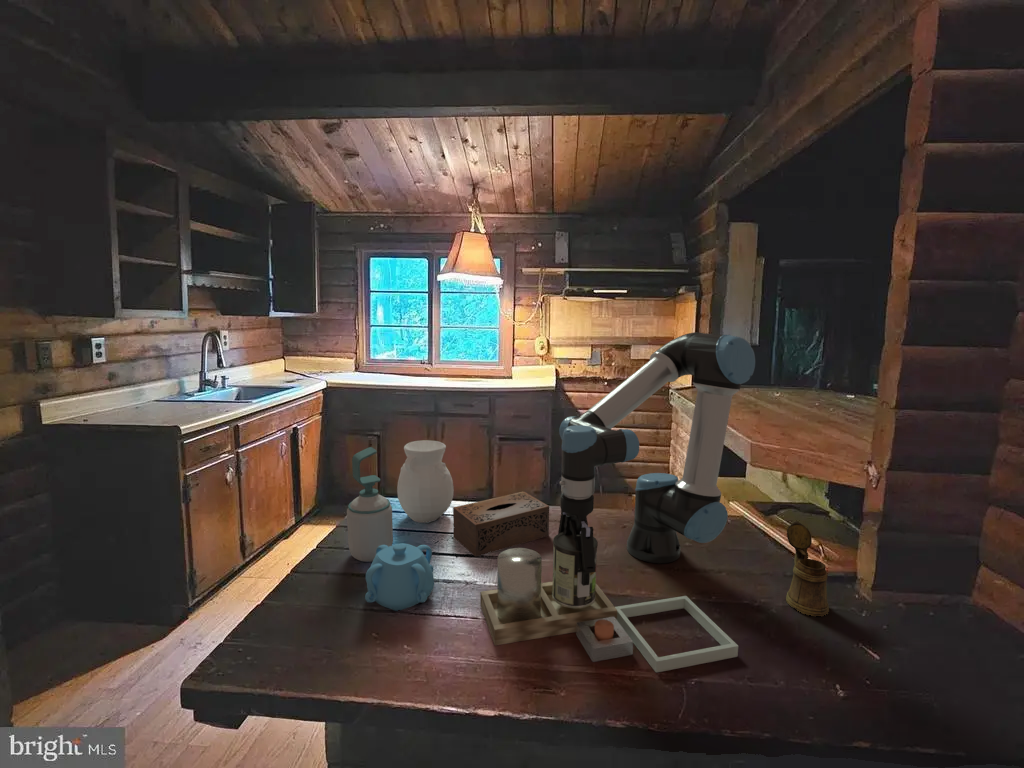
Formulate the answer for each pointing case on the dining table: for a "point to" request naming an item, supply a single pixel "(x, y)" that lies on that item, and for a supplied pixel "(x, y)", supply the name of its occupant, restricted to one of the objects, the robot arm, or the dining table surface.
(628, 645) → the button housing
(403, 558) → the decorative pot
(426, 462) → the white vase
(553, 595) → the coffee can
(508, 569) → the grey rounded cylinder piece
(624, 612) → the white square frame
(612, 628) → the button
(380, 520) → the soap bottle
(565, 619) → the divided wooden tray
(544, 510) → the tissue box cover
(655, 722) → the dining table surface
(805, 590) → the wooden mug
